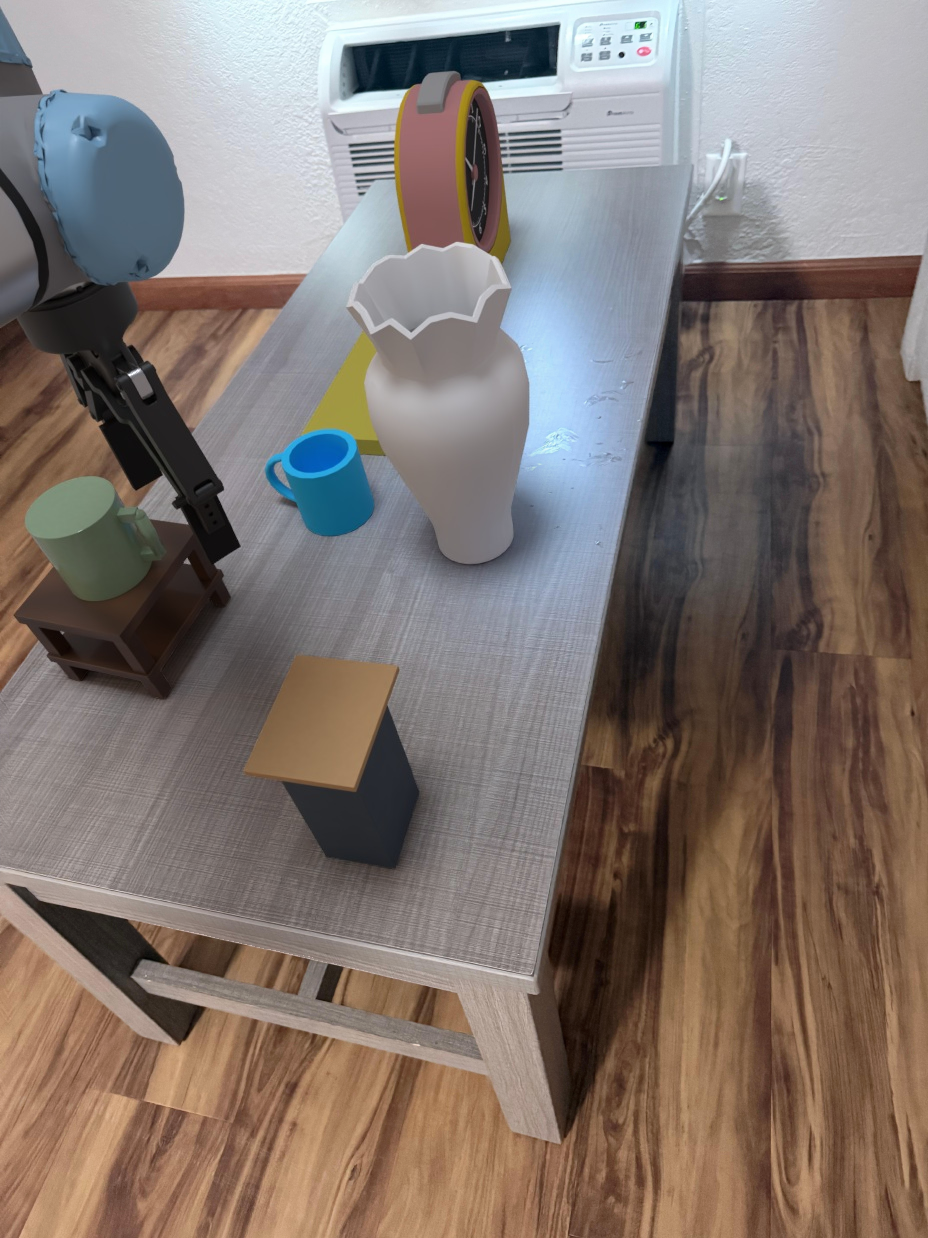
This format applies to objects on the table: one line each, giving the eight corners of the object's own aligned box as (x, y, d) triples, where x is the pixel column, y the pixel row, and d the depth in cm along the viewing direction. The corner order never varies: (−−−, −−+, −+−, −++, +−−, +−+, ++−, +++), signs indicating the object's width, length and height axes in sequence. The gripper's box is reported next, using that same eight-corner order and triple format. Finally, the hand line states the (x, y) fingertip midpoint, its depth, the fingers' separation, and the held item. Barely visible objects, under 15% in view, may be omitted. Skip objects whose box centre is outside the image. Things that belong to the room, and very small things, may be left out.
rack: (165, 702, 84) (119, 635, 77) (65, 680, 88) (12, 614, 81) (234, 595, 92) (199, 525, 85) (140, 579, 96) (99, 511, 89)
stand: (402, 889, 68) (354, 787, 57) (307, 872, 70) (242, 771, 59) (435, 777, 74) (398, 665, 63) (347, 765, 77) (296, 654, 65)
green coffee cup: (57, 604, 81) (10, 542, 75) (84, 543, 86) (43, 480, 80) (162, 596, 79) (123, 531, 73) (183, 534, 84) (149, 469, 79)
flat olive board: (398, 456, 104) (453, 340, 118) (394, 441, 102) (451, 326, 117) (305, 450, 107) (369, 339, 122) (300, 436, 105) (366, 325, 120)
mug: (385, 491, 100) (369, 432, 94) (355, 540, 95) (336, 482, 89) (294, 478, 104) (272, 421, 98) (261, 525, 99) (236, 469, 93)
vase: (422, 490, 99) (361, 238, 77) (553, 491, 96) (527, 228, 74) (393, 587, 90) (314, 332, 68) (536, 591, 86) (501, 324, 65)
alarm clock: (481, 314, 121) (451, 107, 102) (418, 315, 124) (377, 112, 104) (511, 239, 134) (489, 42, 115) (454, 240, 137) (423, 48, 117)
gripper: (199, 305, 51) (302, 561, 67) (41, 203, 66) (156, 434, 82) (83, 364, 49) (218, 616, 65) (-55, 245, 63) (83, 476, 79)
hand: (184, 515), depth 73 cm, fingers open, 13 cm apart
